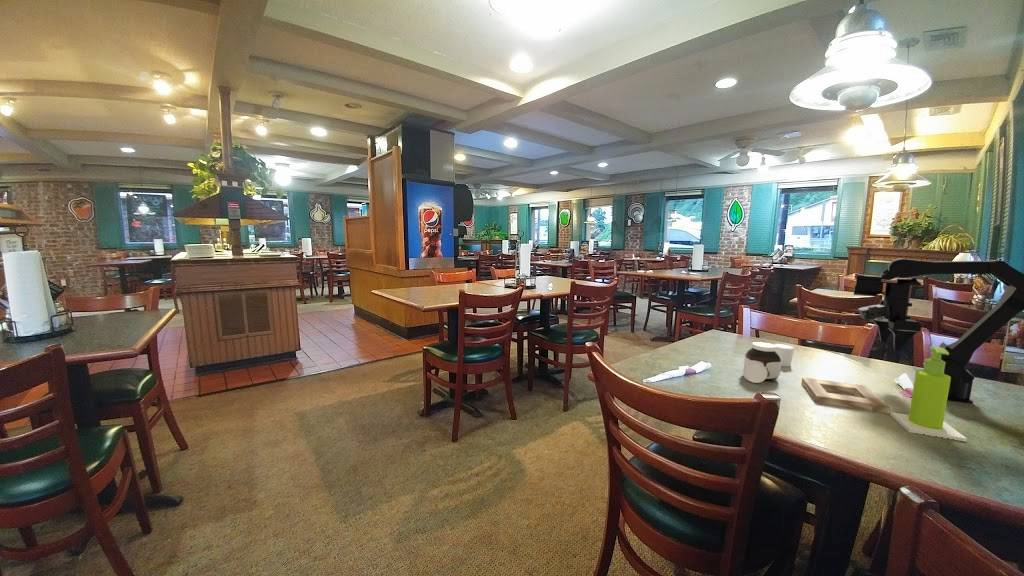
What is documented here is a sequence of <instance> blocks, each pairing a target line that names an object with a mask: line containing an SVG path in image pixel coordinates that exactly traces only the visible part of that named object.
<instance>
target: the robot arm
mask: <svg viewBox="0 0 1024 576" xmlns="http://www.w3.org/2000/svg"><path fill="white" fill-rule="evenodd" d="M927 275H991V276H993V278H995V279H997V281H1000V282H1001V283H1002V284H1004V285H1005V286H1007V288H1006V289H1005V291H1004V292H1003V293H1002V295H1001V298H1000V299H999V302H998V303H997V304H996V305H995V306H994V307H993V308H992V309H991V310H990V311H988V313H986V314H985V315H984V316H982V317H981V319H980V320H978V321H977V322H976V323H975V324H974V325H973V326H972V327H970V329H968V330H967V331H966V332H965V333H964V334H962V335H961V336H960V338H958V339H957V340H956V341H954V342H952V343H950V344H947V343H945V342H941V343H940V344H939V346H938V347H941V348H944V349H945V350H947V351H948V353H949V355H943V354H942V355H941V360H943V361H944V362H945V369H944V374H946V375H948V376H950V377H951V381H950V386H949V392H948V398H947V401H954V402H961V403H970V404H973V403H974V401H973V400H972V399H971V394H972V388H973V384H974V383H973V382H974V380H975V376H974V375H973V374H972V373H971V372H970V371H969V370H968V369H967V365H968V364H969V363H970V361H971V359H972V357H973V354H974V353H975V352H976V351H977V350H978V349H979V348H980V347H982V345H983V344H985V343H986V342H987V341H989V340H990V338H992V337H993V336H994V335H995V334H996V333H998V332H999V330H1001V329H1002V328H1003V327H1004V326H1006V325H1007V324H1008V323H1009V322H1010V321H1012V319H1013V318H1015V317H1017V315H1018V314H1020V313H1022V312H1024V273H1023V272H1021V271H1019V270H1017V269H1016V268H1014V267H1012V266H1011V265H1010V264H1009V263H1008V262H1006V261H1003V260H999V259H990V260H959V261H958V260H956V261H955V260H954V261H953V260H952V261H949V260H947V261H943V260H942V261H937V260H936V261H930V260H929V261H928V260H922V259H911V258H901V257H900V258H894V259H893V260H891V261H890V262H889V263H888V266H887V268H886V270H884V271H883V272H881V273H880V274H879V275H878V276H877V275H864V274H856V280H855V283H854V288H853V296H863V297H865V296H866V297H877V296H878V295H882V294H883V290H884V284H885V290H884V297H883V299H880V300H879V303H878V304H872V305H868V306H862V307H859V308H858V309H857V310H858V313H859V316H860V319H863V320H865V321H867V320H869V321H871V322H873V323H874V324H875V325H876V327H877V330H878V334H879V335H878V336H879V341H880V343H883V344H885V343H886V342H887V341H888V340H889V338H890V337H891V335H892V336H893V337H892V339H893V340H892V341H893V342H892V343H893V344H892V345H893V349H894V351H900V350H901V349H902V347H904V346H905V344H907V342H908V341H909V340H910V339H911V338H913V336H914V335H916V334H918V333H919V332H921V331H922V329H923V328H922V327H923V325H922V324H921V322H919V321H917V320H915V319H911V316H910V315H908V314H909V313H908V312H909V307H913V303H911V302H910V301H911V300H910V299H911V294H912V288H913V286H918V287H921V286H922V283H921V282H920V281H918V280H917V279H916V277H920V276H927ZM909 278H910V279H909ZM893 279H895V281H891V280H893Z"/></svg>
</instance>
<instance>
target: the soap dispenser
mask: <svg viewBox="0 0 1024 576" xmlns="http://www.w3.org/2000/svg"><path fill="white" fill-rule="evenodd" d="M929 349H930V350H931V354H930V357H928V358H924V359H925V360H924V364H923V365H924V366H923V369H918V370H917V369H916V371H915V374H914V382H913V386H912V387H913V389H912V394H911V401H910V405H909V406H910V407H909V414H908V415H909V421H911V422H912V423H915V424H917V425H920V426H923V427H927V428H933V429H941V428H942V427H943V421H944V420H945V416H946V415H945V414H946V409H947V403H948V400H947V398H948V392H949V386H950V381H951V377H950V376H948V375H946V374H944V369H945V362H944V361H943V360H941V355H942V354H943V355H949V353H948V351H947V350H945V349H944V348H941V347H939V346H932V345H930V346H929ZM944 422H945V421H944Z"/></svg>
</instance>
